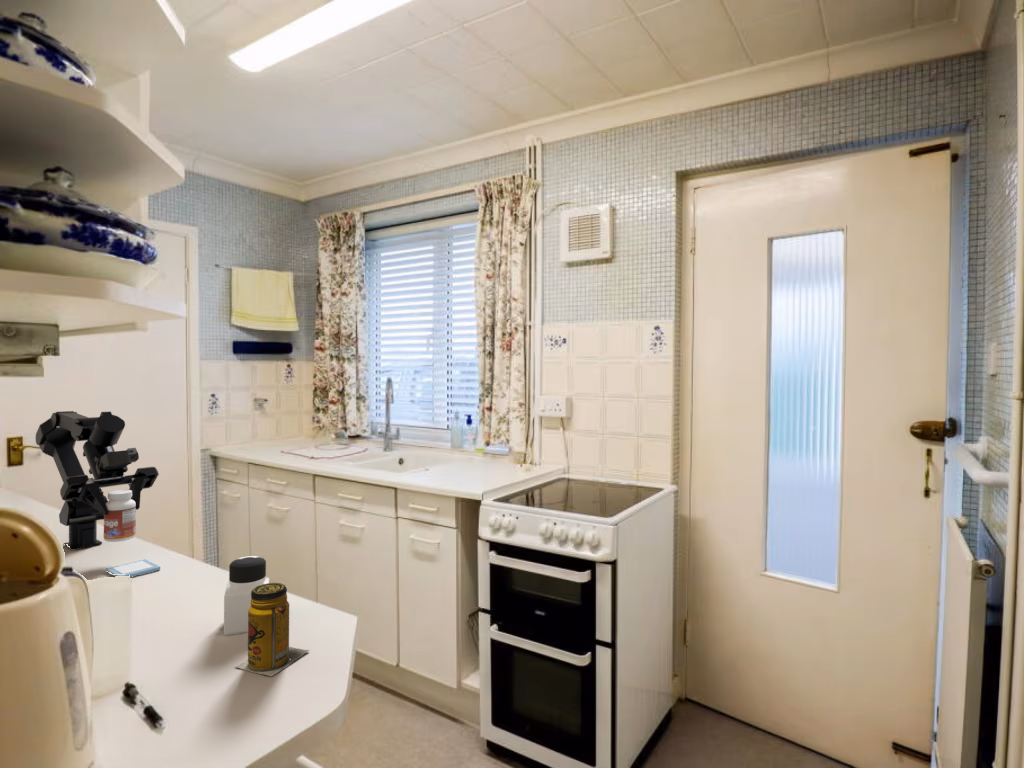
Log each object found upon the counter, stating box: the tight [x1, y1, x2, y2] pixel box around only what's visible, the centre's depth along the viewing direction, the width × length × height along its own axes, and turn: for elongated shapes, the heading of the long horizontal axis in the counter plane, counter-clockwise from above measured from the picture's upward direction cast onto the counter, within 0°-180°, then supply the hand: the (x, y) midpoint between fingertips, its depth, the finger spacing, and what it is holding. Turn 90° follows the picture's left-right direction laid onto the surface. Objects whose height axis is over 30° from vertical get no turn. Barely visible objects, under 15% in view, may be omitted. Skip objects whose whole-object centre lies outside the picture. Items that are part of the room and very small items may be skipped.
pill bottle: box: [103, 489, 137, 543], centre depth 132 cm, size 6×6×11 cm
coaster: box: [105, 559, 161, 578], centre depth 127 cm, size 8×8×1 cm
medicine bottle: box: [223, 555, 270, 636], centre depth 102 cm, size 7×7×12 cm
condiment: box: [234, 582, 310, 677], centre depth 90 cm, size 7×8×12 cm
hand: (122, 511), depth 131 cm, fingers closed on pill bottle, 6 cm apart
